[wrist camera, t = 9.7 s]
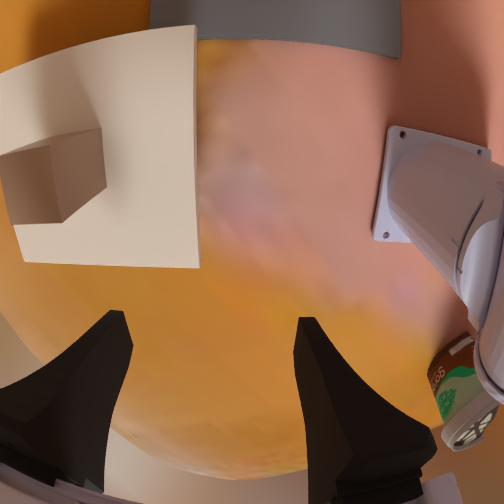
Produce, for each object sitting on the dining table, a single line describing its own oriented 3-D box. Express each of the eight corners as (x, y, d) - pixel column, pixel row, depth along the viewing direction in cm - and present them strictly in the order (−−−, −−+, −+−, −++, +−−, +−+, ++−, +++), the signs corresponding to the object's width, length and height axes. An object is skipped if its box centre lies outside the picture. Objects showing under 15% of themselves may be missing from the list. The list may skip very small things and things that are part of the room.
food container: (420, 344, 26) (458, 424, 17) (468, 322, 25) (514, 392, 16) (415, 401, 32) (438, 464, 23) (455, 383, 31) (483, 442, 22)
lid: (197, 28, 11) (170, -5, 6) (201, 260, 17) (185, 324, 12) (3, 75, 11) (-59, 84, 6) (30, 255, 16) (-13, 301, 12)
